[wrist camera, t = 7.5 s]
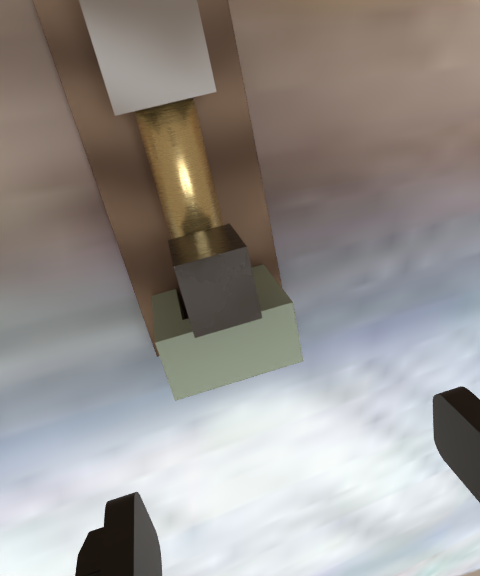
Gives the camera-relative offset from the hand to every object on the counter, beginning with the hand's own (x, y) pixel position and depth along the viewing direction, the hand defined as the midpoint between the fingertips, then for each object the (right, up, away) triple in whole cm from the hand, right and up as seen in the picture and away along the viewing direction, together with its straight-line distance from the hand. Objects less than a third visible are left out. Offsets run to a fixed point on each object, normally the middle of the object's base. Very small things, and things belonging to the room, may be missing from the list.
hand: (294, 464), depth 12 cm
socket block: (-3, +3, +20) cm, 20 cm away
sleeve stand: (-6, +13, +17) cm, 22 cm away
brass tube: (-5, +11, +15) cm, 19 cm away
